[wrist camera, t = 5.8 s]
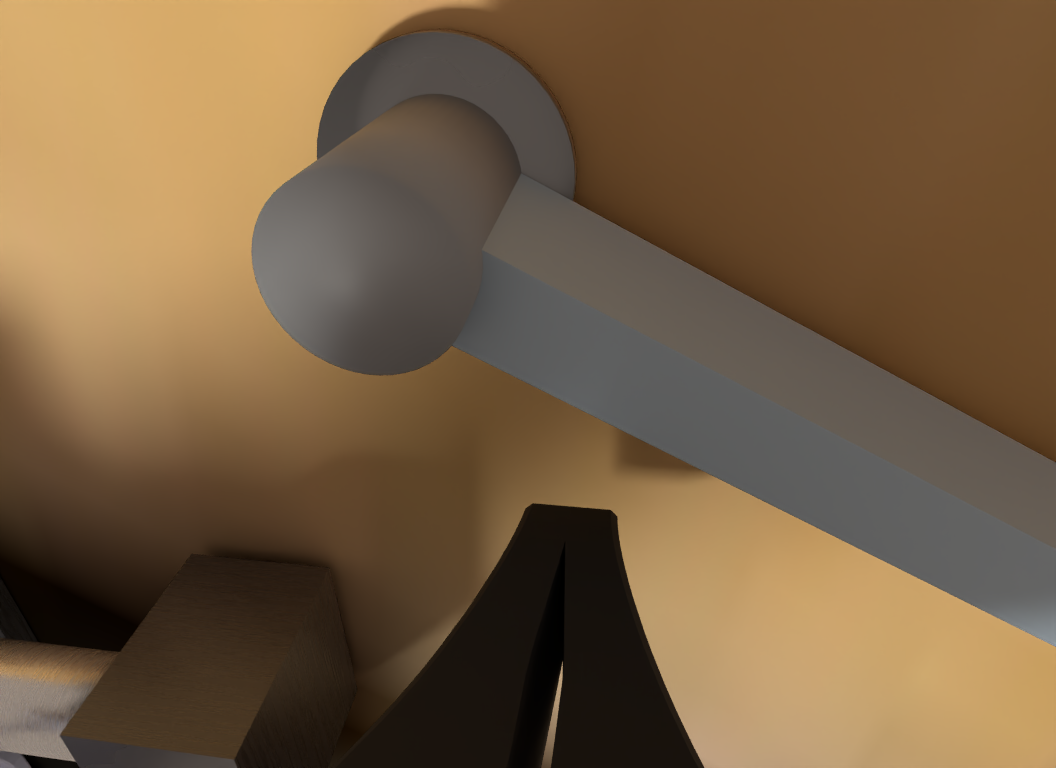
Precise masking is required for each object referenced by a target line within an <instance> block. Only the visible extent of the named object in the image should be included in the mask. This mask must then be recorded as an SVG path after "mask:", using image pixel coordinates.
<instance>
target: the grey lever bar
mask: <svg viewBox="0 0 1056 768" xmlns="http://www.w3.org/2000/svg"><path fill="white" fill-rule="evenodd" d="M252 262H253V269H254V274H255V278H256V281H257V284H258V287H259V290H260V293H261V295H262V297H263V299H264V301H265V303H266V305H267V307H268V308H269V310H270V311H271V313H272V315H273V316H274V318H275V319H276V320H277V321H278V323H279V324H280V325H281V326H282V328H283V329H284V330H285V331H286V332H287V333H288V334H289V335H290V336H291V337H292V338H293V339H294V340H295V341H296V342H298V343H299V344H300V345H301V346H302V347H304V348H305V349H306V350H308V351H309V352H311V353H312V354H314V355H315V356H317V357H319V358H321V359H323V360H324V361H326V362H328V363H330V364H333V365H335V366H338V367H340V368H343V369H346V370H349V371H353V372H357V373H363V374H369V375H395V374H401V373H406V372H410V371H413V370H416V369H419V368H421V367H423V366H426V365H428V364H429V363H431V362H433V361H434V360H436V359H437V358H439V357H440V356H441V355H442V354H443V353H445V352H446V351H447V350H448V349H449V348H450V346H451V345H452V346H454V347H456V348H458V349H460V350H462V351H464V352H466V353H468V354H470V355H472V356H474V357H476V358H478V359H480V360H482V361H484V362H486V363H488V364H490V365H492V366H494V367H496V368H498V369H500V370H502V371H504V372H506V373H508V374H510V375H512V376H514V377H516V378H518V379H520V380H522V381H524V382H526V383H528V384H530V385H532V386H534V387H536V388H538V389H540V390H542V391H544V392H546V393H548V394H550V395H552V396H554V397H556V398H558V399H560V400H562V401H564V402H566V403H568V404H570V405H572V406H574V407H576V408H578V409H580V410H582V411H584V412H586V413H588V414H590V415H592V416H594V417H596V418H598V419H600V420H602V421H604V422H606V423H608V424H610V425H612V426H614V427H616V428H618V429H620V430H622V431H624V432H626V433H628V434H630V435H632V436H634V437H636V438H638V439H640V440H642V441H644V442H646V443H648V444H650V445H652V446H654V447H656V448H658V449H660V450H662V451H664V452H666V453H668V454H670V455H672V456H674V457H676V458H678V459H680V460H682V461H684V462H686V463H688V464H690V465H692V466H694V467H696V468H698V469H700V470H702V471H704V472H706V473H708V474H710V475H712V476H714V477H716V478H718V479H720V480H722V481H724V482H726V483H728V484H730V485H732V486H734V487H736V488H738V489H740V490H742V491H744V492H746V493H748V494H750V495H752V496H754V497H756V498H758V499H760V500H762V501H764V502H766V503H768V504H770V505H772V506H774V507H776V508H778V509H780V510H782V511H784V512H786V513H788V514H790V515H792V516H794V517H796V518H799V519H801V520H803V521H805V522H807V523H809V524H811V525H813V526H815V527H817V528H819V529H821V530H823V531H825V532H827V533H829V534H831V535H833V536H835V537H837V538H839V539H841V540H843V541H845V542H847V543H849V544H851V545H853V546H855V547H857V548H859V549H861V550H863V551H865V552H867V553H869V554H871V555H873V556H875V557H877V558H879V559H881V560H883V561H885V562H887V563H889V564H891V565H893V566H895V567H897V568H899V569H901V570H903V571H905V572H907V573H909V574H911V575H913V576H915V577H917V578H919V579H921V580H923V581H925V582H927V583H929V584H931V585H933V586H935V587H937V588H939V589H941V590H943V591H945V592H947V593H949V594H951V595H953V596H955V597H957V598H959V599H961V600H963V601H965V602H967V603H969V604H971V605H973V606H975V607H977V608H979V609H981V610H983V611H985V612H987V613H989V614H991V615H993V616H995V617H997V618H999V619H1001V620H1003V621H1005V622H1007V623H1009V624H1011V625H1013V626H1015V627H1017V628H1019V629H1021V630H1023V631H1025V632H1027V633H1029V634H1031V635H1033V636H1035V637H1037V638H1039V639H1041V640H1043V641H1045V642H1047V643H1049V644H1051V645H1053V646H1055V647H1056V462H1054V461H1052V460H1050V459H1048V458H1046V457H1045V456H1043V455H1041V454H1039V453H1037V452H1035V451H1033V450H1032V449H1030V448H1028V447H1026V446H1024V445H1022V444H1021V443H1019V442H1017V441H1015V440H1013V439H1011V438H1009V437H1008V436H1006V435H1004V434H1002V433H1000V432H998V431H997V430H995V429H993V428H991V427H989V426H987V425H985V424H984V423H982V422H980V421H978V420H976V419H974V418H972V417H971V416H969V415H967V414H965V413H963V412H961V411H960V410H958V409H956V408H954V407H952V406H950V405H948V404H947V403H945V402H943V401H941V400H939V399H937V398H936V397H934V396H932V395H930V394H928V393H926V392H924V391H923V390H921V389H919V388H917V387H915V386H913V385H912V384H910V383H908V382H906V381H904V380H902V379H900V378H899V377H897V376H895V375H893V374H891V373H889V372H888V371H886V370H884V369H882V368H880V367H878V366H876V365H875V364H873V363H871V362H869V361H867V360H865V359H864V358H862V357H860V356H858V355H856V354H854V353H852V352H851V351H849V350H847V349H845V348H843V347H841V346H840V345H838V344H836V343H834V342H832V341H830V340H828V339H827V338H825V337H823V336H821V335H819V334H817V333H815V332H814V331H812V330H810V329H808V328H806V327H804V326H803V325H801V324H799V323H797V322H795V321H793V320H791V319H790V318H788V317H786V316H784V315H782V314H780V313H779V312H777V311H775V310H773V309H771V308H769V307H767V306H766V305H764V304H762V303H760V302H758V301H756V300H755V299H753V298H751V297H749V296H747V295H745V294H743V293H742V292H740V291H738V290H736V289H734V288H732V287H731V286H729V285H727V284H725V283H723V282H721V281H719V280H718V279H716V278H714V277H712V276H710V275H708V274H707V273H705V272H703V271H701V270H699V269H697V268H695V267H694V266H692V265H690V264H688V263H686V262H684V261H683V260H681V259H679V258H677V257H675V256H673V255H671V254H670V253H668V252H666V251H664V250H662V249H660V248H658V247H657V246H655V245H653V244H651V243H649V242H647V241H646V240H644V239H642V238H640V237H638V236H636V235H634V234H633V233H631V232H629V231H627V230H625V229H623V228H622V227H620V226H618V225H616V224H614V223H612V222H610V221H609V220H607V219H605V218H603V217H601V216H599V215H598V214H596V213H594V212H592V211H590V210H588V209H586V208H585V207H583V206H581V205H579V204H577V203H575V202H574V201H572V200H570V199H568V198H566V197H564V196H562V195H561V194H559V193H557V192H555V191H553V190H551V189H550V188H548V187H546V186H544V185H542V184H540V183H538V182H537V181H535V180H533V179H531V178H529V177H527V176H526V175H524V174H522V173H521V167H520V163H519V159H518V156H517V153H516V151H515V148H514V146H513V144H512V142H511V140H510V139H509V137H508V135H507V134H506V132H505V131H504V130H503V128H502V127H501V126H500V125H499V124H498V123H497V122H496V120H495V119H494V118H493V117H491V116H490V115H489V114H488V113H487V112H485V111H484V110H483V109H481V108H479V107H478V106H476V105H475V104H473V103H471V102H469V101H466V100H464V99H461V98H458V97H455V96H450V95H445V94H425V95H418V96H415V97H411V98H408V99H406V100H404V101H402V102H400V103H398V104H396V105H395V106H393V107H392V108H390V109H389V110H388V111H386V112H385V113H383V114H382V115H380V116H379V117H378V118H376V119H375V120H373V121H372V122H371V123H369V124H368V125H366V126H365V127H363V128H362V129H361V130H359V131H358V132H356V133H355V134H354V135H352V136H351V137H349V138H348V139H346V140H345V141H344V142H342V143H341V144H339V145H338V146H337V147H335V148H334V149H332V150H331V151H329V152H328V153H327V154H325V155H324V156H322V157H321V158H320V159H318V160H317V161H315V162H314V163H312V164H311V165H310V166H308V167H307V168H305V169H304V170H303V171H301V172H300V173H298V174H297V175H295V176H294V177H293V178H291V179H290V180H288V181H287V182H286V183H284V184H283V185H282V186H281V187H280V188H278V189H277V190H276V191H275V192H274V193H273V194H272V196H271V197H270V198H269V199H268V201H267V202H266V203H265V205H264V207H263V209H262V210H261V212H260V214H259V216H258V219H257V222H256V225H255V228H254V233H253V238H252Z"/></svg>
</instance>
